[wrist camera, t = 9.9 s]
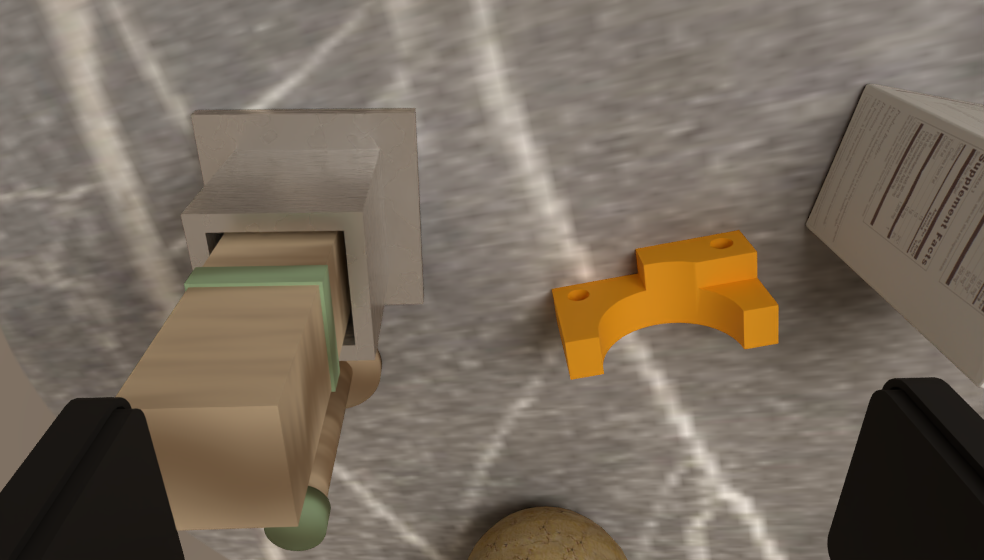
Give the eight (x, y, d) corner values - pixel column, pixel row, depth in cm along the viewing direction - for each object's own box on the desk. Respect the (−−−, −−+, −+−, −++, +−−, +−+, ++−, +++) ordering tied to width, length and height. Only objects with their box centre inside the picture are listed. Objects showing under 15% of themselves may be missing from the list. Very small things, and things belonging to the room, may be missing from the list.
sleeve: (196, 110, 40) (124, 172, 31) (415, 108, 41) (404, 168, 32) (232, 299, 46) (179, 397, 37) (424, 295, 46) (416, 391, 38)
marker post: (284, 325, 47) (222, 485, 34) (378, 323, 47) (351, 481, 35) (296, 400, 50) (242, 573, 37) (384, 398, 50) (361, 569, 37)
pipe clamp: (738, 228, 45) (778, 277, 40) (739, 288, 47) (778, 343, 42) (547, 263, 46) (560, 316, 40) (557, 321, 48) (570, 379, 42)
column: (231, 214, 36) (100, 406, 22) (345, 212, 36) (282, 401, 23) (248, 311, 38) (140, 534, 25) (354, 309, 38) (303, 529, 25)
